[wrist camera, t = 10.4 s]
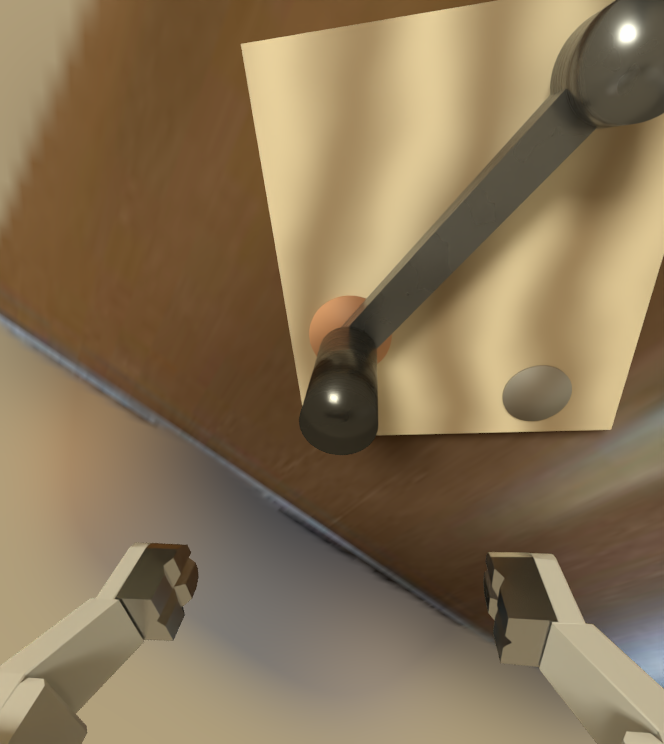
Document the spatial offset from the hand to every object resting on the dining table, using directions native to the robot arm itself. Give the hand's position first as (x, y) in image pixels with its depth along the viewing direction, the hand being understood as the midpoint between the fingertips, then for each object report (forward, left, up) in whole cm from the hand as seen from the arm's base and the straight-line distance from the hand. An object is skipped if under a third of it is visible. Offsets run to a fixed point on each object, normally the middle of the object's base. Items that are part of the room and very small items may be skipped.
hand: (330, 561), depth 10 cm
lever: (-6, -6, -14) cm, 16 cm away
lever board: (-6, -4, -16) cm, 18 cm away
